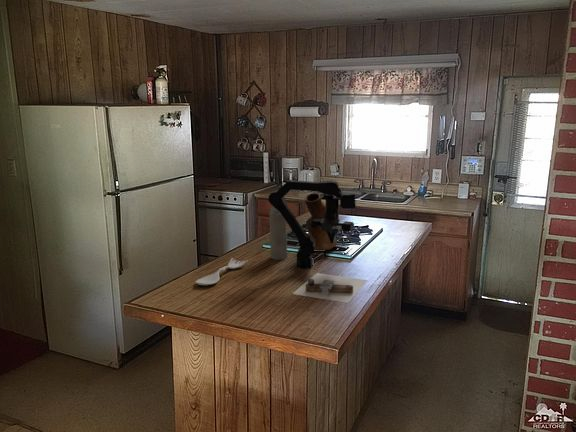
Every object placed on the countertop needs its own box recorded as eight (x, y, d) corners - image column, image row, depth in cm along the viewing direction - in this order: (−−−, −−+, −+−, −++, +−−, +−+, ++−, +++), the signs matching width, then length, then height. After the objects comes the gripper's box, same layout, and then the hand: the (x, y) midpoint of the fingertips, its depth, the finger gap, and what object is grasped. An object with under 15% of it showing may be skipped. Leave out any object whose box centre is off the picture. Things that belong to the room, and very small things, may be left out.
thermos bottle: (274, 254, 243) (272, 199, 236) (289, 255, 240) (287, 199, 234) (268, 259, 236) (266, 202, 229) (284, 260, 233) (282, 203, 226)
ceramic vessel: (343, 246, 252) (343, 189, 245) (322, 258, 235) (322, 197, 228) (316, 242, 261) (315, 187, 254) (295, 253, 243) (293, 194, 236)
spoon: (248, 266, 227) (248, 259, 226) (209, 290, 199) (208, 282, 198) (232, 263, 231) (232, 256, 230) (191, 287, 203) (190, 279, 202)
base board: (292, 295, 191) (292, 293, 191) (316, 274, 213) (316, 273, 212) (348, 304, 181) (348, 302, 181) (367, 282, 203) (367, 280, 203)
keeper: (317, 294, 189) (317, 286, 188) (325, 287, 196) (324, 279, 195) (330, 296, 187) (330, 287, 186) (337, 289, 194) (337, 281, 193)
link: (304, 291, 192) (304, 286, 191) (306, 287, 196) (306, 282, 195) (352, 293, 188) (352, 288, 188) (353, 289, 192) (353, 284, 192)
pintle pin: (307, 284, 192) (307, 280, 192) (309, 282, 194) (309, 278, 194) (312, 285, 191) (312, 281, 191) (315, 283, 193) (315, 279, 193)
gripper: (305, 211, 210) (305, 246, 214) (346, 214, 202) (346, 250, 206) (315, 206, 220) (315, 239, 224) (354, 209, 212) (354, 243, 216)
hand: (332, 243), depth 217 cm, fingers closed
